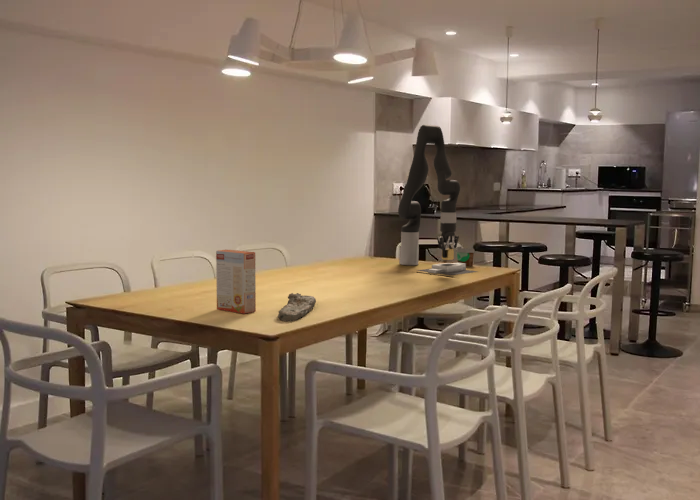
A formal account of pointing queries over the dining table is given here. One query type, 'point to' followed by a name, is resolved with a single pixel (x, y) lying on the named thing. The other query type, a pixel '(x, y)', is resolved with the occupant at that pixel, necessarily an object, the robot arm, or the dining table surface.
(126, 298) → the dining table surface
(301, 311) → the elongated rock
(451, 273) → the mat
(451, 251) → the tan small block
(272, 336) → the dining table surface
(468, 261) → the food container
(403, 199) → the robot arm
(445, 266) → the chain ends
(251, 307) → the cracker box
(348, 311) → the dining table surface
